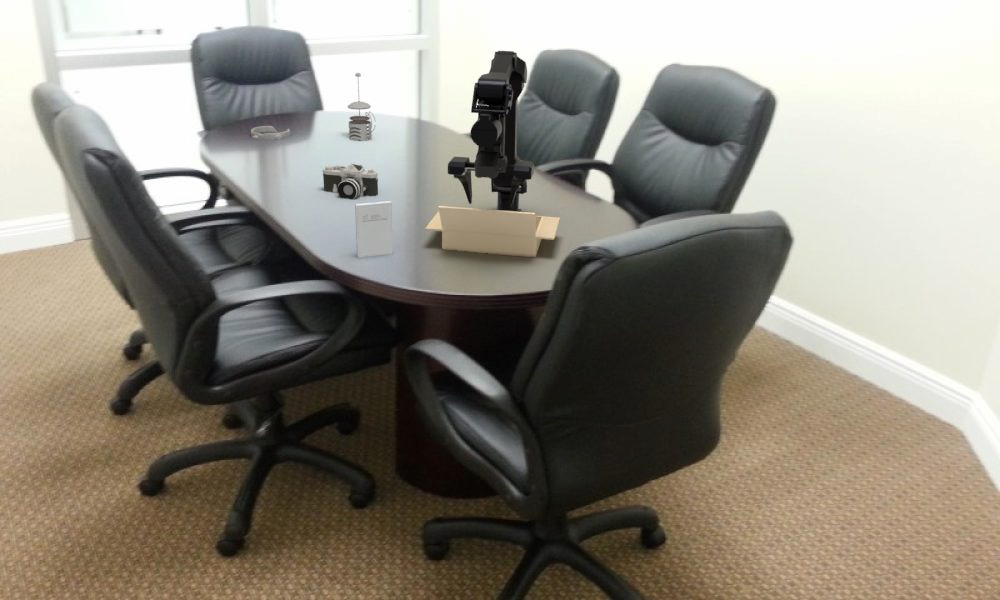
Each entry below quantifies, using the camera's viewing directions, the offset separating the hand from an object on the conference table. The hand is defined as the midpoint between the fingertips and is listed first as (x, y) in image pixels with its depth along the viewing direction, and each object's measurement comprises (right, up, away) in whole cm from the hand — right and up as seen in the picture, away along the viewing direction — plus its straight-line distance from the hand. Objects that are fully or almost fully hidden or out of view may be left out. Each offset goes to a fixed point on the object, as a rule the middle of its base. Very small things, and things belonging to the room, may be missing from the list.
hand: (490, 204), depth 184 cm
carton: (+1, -8, +11) cm, 13 cm away
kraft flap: (-1, -4, -2) cm, 4 cm away
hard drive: (-26, -12, +1) cm, 29 cm away
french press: (-46, +33, +103) cm, 117 cm away
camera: (-40, +7, +42) cm, 59 cm away
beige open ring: (-79, +34, +102) cm, 134 cm away
